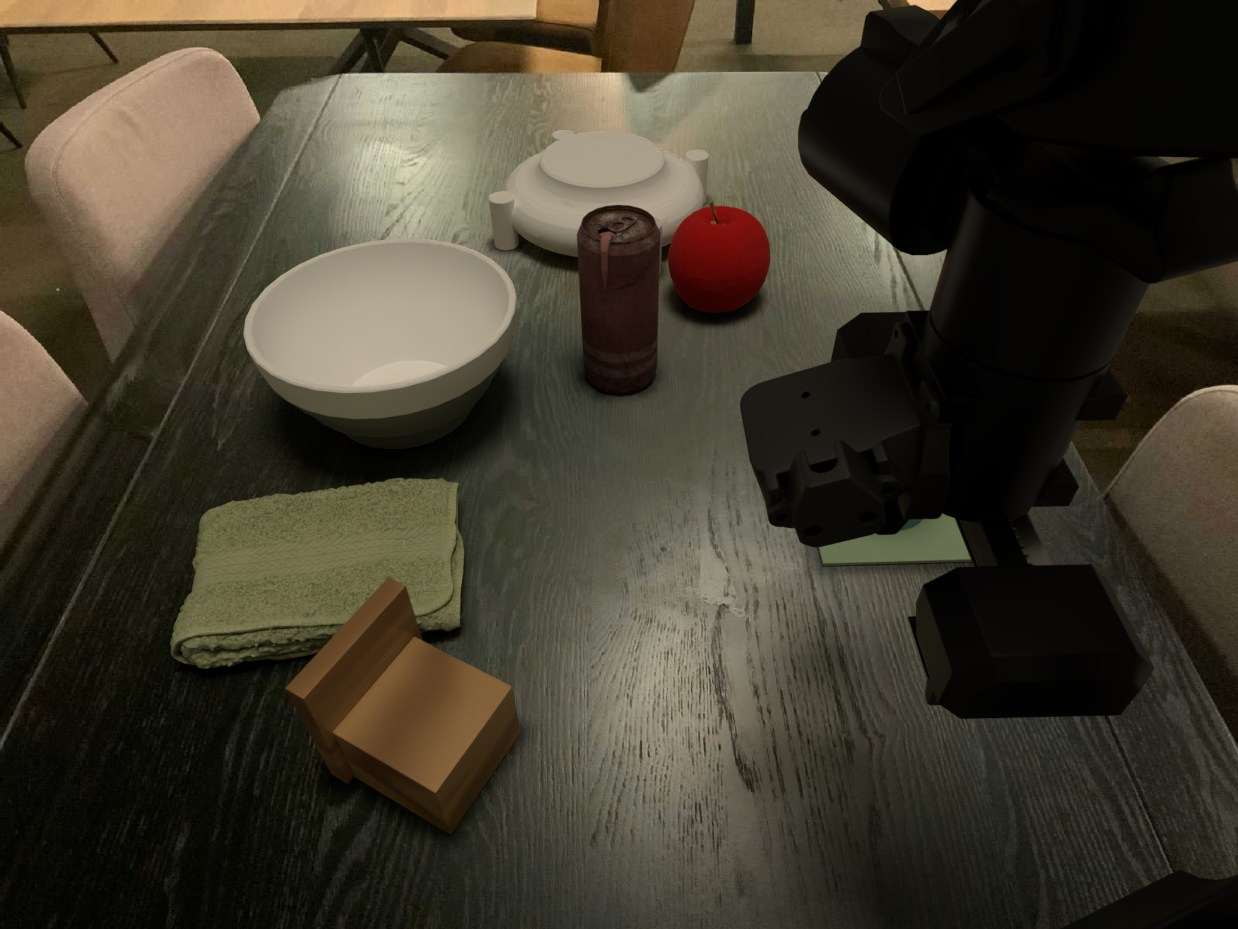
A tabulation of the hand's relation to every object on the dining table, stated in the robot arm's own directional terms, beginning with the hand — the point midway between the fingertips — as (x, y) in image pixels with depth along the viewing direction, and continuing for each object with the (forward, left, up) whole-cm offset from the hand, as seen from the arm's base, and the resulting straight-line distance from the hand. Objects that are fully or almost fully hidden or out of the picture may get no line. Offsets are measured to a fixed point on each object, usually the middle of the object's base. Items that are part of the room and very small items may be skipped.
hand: (909, 609), depth 39 cm
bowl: (+42, -7, -13) cm, 45 cm away
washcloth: (+33, +8, -13) cm, 37 cm away
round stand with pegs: (+46, -40, -13) cm, 62 cm away
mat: (+6, -18, -13) cm, 23 cm away
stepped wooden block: (+19, +14, -13) cm, 27 cm away
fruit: (+29, -34, -13) cm, 47 cm away
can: (+30, -20, -13) cm, 38 cm away
